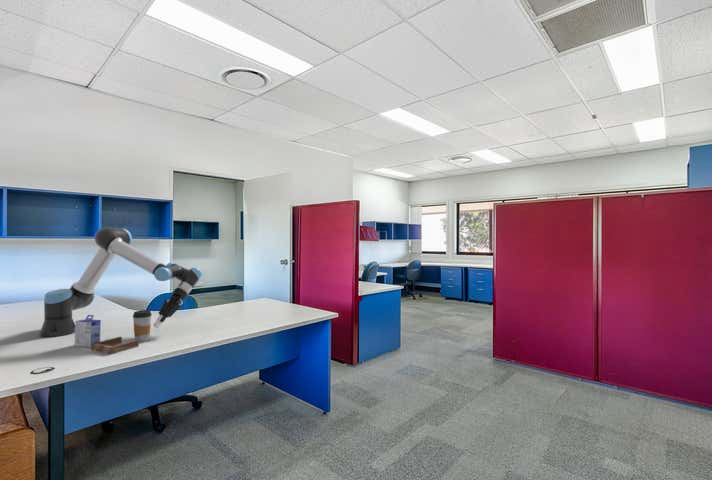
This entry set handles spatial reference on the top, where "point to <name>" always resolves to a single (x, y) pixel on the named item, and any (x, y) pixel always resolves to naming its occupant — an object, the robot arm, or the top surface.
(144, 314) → the coffee cup
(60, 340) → the top surface
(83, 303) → the robot arm
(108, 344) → the walnut bay
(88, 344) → the ink cartridge box
